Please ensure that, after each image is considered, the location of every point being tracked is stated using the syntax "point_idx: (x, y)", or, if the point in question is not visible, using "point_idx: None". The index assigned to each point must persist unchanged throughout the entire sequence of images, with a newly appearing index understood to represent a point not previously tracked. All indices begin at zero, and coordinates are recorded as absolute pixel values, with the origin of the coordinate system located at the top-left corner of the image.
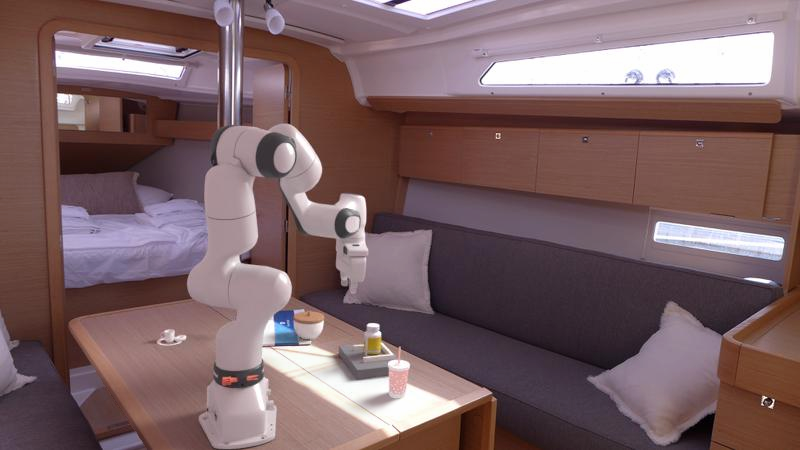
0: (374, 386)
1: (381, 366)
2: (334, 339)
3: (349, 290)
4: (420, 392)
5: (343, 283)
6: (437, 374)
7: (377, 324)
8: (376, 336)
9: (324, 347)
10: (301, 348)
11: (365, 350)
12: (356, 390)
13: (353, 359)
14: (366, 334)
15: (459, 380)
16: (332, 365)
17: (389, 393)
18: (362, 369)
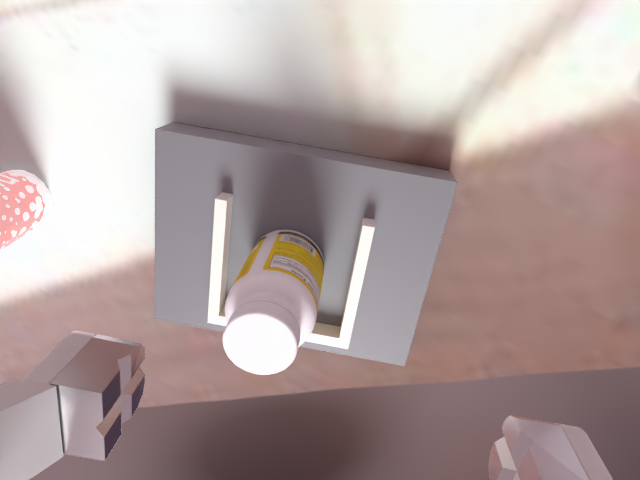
0: (101, 156)
1: (162, 237)
2: (628, 234)
3: (117, 355)
4: (27, 271)
5: (523, 452)
6: None
7: (261, 369)
8: (225, 311)
9: (565, 146)
10: (629, 25)
11: (273, 239)
12: (83, 74)
13: (271, 167)
14: (257, 279)
15: None
16: (348, 88)
17: (18, 171)
18: (156, 152)
